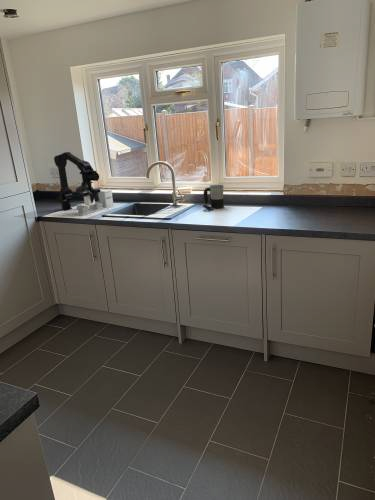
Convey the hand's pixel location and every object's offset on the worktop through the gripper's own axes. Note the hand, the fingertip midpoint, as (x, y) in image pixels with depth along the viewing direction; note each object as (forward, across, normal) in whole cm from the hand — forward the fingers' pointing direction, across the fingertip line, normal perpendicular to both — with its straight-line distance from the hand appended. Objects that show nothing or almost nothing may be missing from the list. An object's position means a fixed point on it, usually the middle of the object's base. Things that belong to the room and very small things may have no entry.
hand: (89, 202), depth 282 cm
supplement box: (+7, 0, +16) cm, 17 cm away
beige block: (+7, -6, +8) cm, 12 cm away
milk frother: (+7, +81, +33) cm, 88 cm away
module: (+1, 0, 0) cm, 1 cm away
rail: (+7, 0, 0) cm, 7 cm away
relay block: (+7, -17, +6) cm, 19 cm away
